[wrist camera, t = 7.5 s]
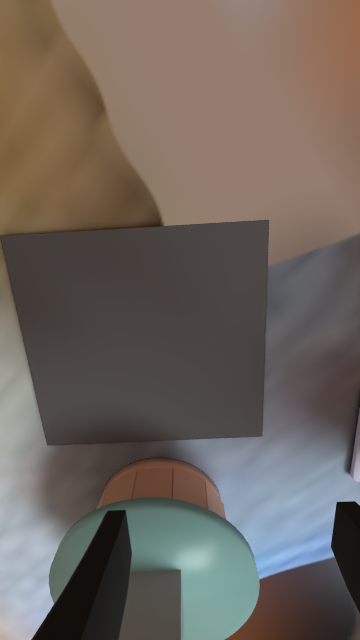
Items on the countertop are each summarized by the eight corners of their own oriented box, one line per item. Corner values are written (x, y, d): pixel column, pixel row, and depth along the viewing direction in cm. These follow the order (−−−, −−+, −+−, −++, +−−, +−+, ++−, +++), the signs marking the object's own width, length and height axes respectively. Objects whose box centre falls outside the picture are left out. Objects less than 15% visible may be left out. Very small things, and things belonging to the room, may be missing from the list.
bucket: (220, 455, 21) (232, 518, 16) (222, 549, 24) (232, 627, 19) (92, 460, 21) (67, 523, 16) (109, 553, 24) (90, 631, 19)
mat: (266, 220, 16) (269, 219, 16) (260, 431, 20) (262, 436, 20) (5, 236, 17) (-1, 235, 16) (50, 440, 21) (47, 445, 20)
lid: (258, 493, 16) (290, 597, 11) (253, 637, 19) (276, 762, 15) (37, 500, 16) (-22, 605, 11) (72, 642, 20) (38, 765, 15)
